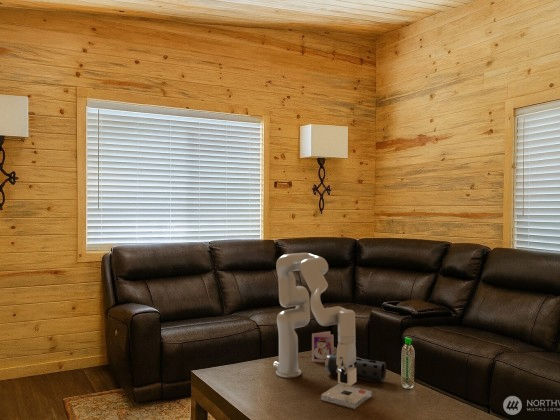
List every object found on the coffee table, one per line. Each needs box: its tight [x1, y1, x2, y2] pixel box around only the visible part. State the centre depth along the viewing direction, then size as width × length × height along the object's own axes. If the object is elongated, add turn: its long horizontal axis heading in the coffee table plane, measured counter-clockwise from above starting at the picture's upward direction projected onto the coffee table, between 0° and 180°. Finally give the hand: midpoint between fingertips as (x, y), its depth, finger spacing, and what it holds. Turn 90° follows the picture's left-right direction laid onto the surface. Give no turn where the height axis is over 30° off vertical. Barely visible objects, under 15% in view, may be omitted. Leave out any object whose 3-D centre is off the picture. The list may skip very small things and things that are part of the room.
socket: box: [320, 383, 372, 410], centre depth 217 cm, size 16×16×3 cm
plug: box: [336, 366, 357, 388], centre depth 217 cm, size 8×6×8 cm
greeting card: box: [311, 330, 335, 363], centre depth 267 cm, size 11×7×15 cm, turn 81°
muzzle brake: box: [324, 353, 387, 384], centre depth 241 cm, size 10×28×10 cm, turn 62°
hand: (347, 380), depth 216 cm, fingers closed on plug, 5 cm apart
